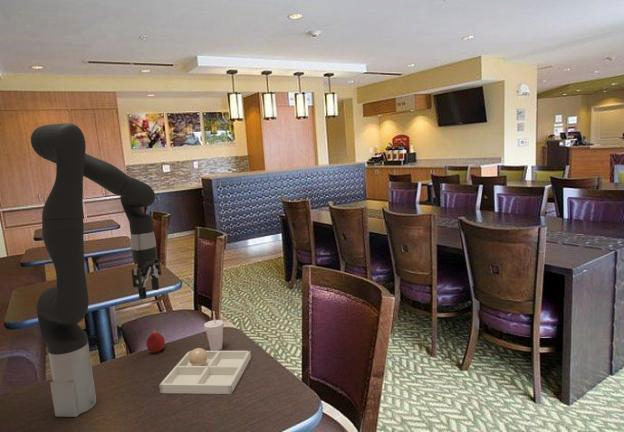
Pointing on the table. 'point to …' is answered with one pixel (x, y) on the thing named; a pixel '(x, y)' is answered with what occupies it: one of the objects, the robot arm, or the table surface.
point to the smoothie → (214, 333)
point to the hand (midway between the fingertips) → (149, 293)
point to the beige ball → (198, 357)
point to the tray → (207, 374)
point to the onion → (155, 342)
